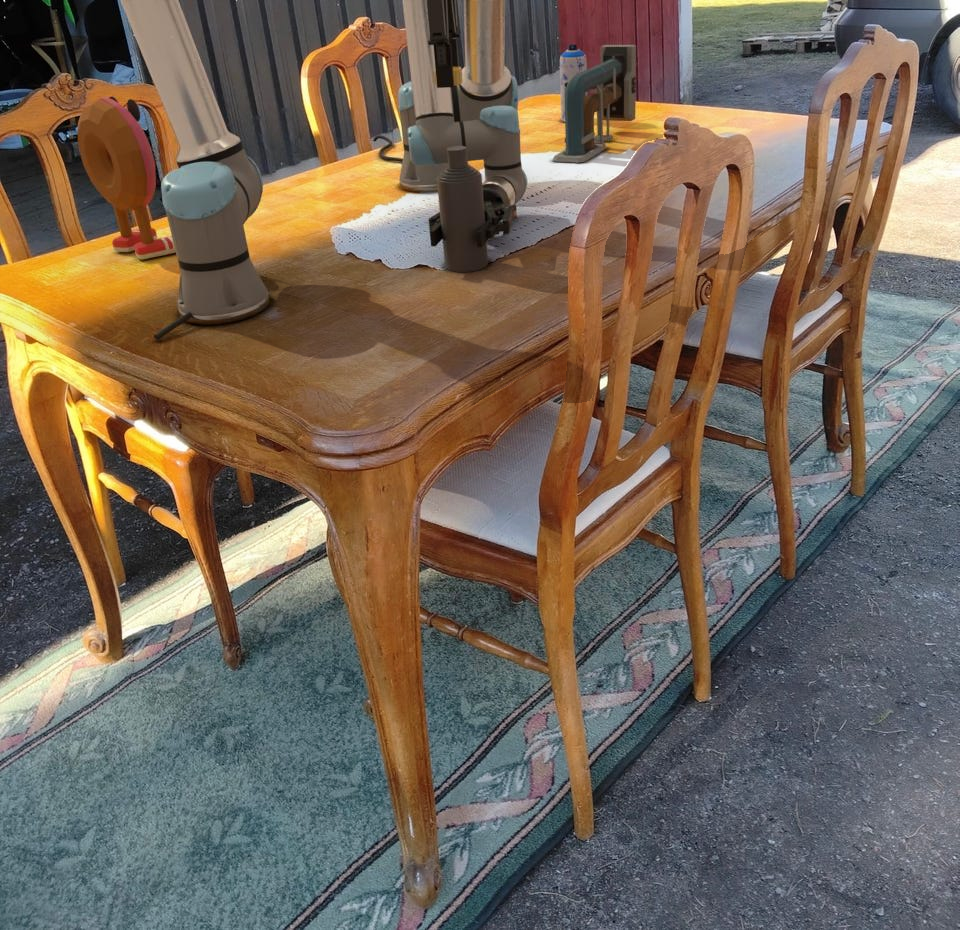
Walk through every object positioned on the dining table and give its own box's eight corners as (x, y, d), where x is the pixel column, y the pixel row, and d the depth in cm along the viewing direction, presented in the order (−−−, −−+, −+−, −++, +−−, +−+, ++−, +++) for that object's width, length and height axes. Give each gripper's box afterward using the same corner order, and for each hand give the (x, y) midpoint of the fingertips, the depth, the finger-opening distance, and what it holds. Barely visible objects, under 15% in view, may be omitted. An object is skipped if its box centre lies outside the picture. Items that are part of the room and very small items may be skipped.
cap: (428, 85, 160) (427, 70, 159) (448, 80, 163) (446, 65, 162) (449, 87, 157) (447, 71, 156) (468, 82, 160) (467, 67, 159)
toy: (197, 251, 195) (161, 95, 180) (152, 266, 189) (111, 105, 174) (143, 235, 208) (105, 88, 193) (99, 248, 202) (57, 97, 187)
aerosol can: (559, 122, 275) (557, 47, 265) (562, 117, 282) (559, 42, 272) (587, 121, 274) (585, 45, 263) (589, 115, 280) (587, 41, 270)
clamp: (583, 162, 234) (581, 68, 223) (550, 161, 238) (547, 68, 227) (635, 130, 260) (635, 44, 249) (604, 129, 263) (604, 45, 253)
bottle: (496, 261, 177) (488, 144, 166) (469, 274, 172) (459, 155, 161) (463, 255, 181) (453, 141, 171) (436, 268, 176) (424, 151, 166)
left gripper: (449, -77, 140) (461, 93, 152) (468, -81, 155) (478, 74, 167) (398, -73, 141) (415, 95, 153) (423, -78, 156) (436, 76, 168)
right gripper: (543, 222, 187) (513, 261, 169) (442, 220, 193) (402, 258, 174) (542, 183, 183) (511, 219, 165) (439, 182, 189) (397, 217, 171)
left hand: (448, 83), depth 160 cm, fingers closed on cap, 4 cm apart
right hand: (455, 239), depth 170 cm, fingers closed on bottle, 8 cm apart
